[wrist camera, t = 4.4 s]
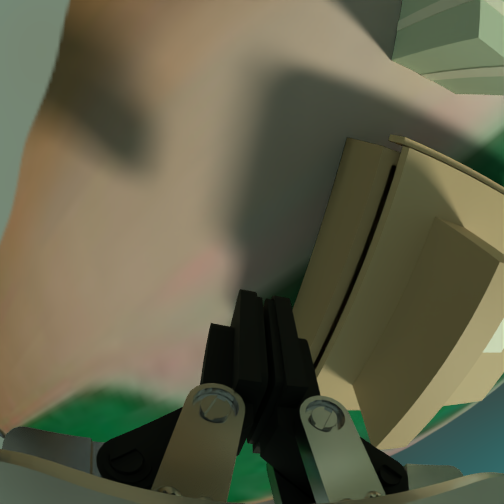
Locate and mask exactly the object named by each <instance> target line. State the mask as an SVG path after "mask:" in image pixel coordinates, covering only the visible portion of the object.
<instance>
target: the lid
mask: <svg viewBox="0 0 504 504" xmlns="http://www.w3.org/2000/svg"><path fill="white" fill-rule="evenodd" d="M389 141H391V142H394V143H396V144H399V145H401V146H403V147H402V151H401V154H400V157H399V161H398V164H397V168H396V171H395V174H394V177H393V181H392V184H391V187H390V190H389V193H388V196H387V199H386V202H385V205H384V208H383V211H382V214H381V217H380V220H379V223H378V225H377V228H376V231H375V234H374V236H373V239H372V242H371V245H370V247H369V250H368V252H367V255H366V258H365V260H364V263H363V265H362V268H361V270H360V273H359V275H358V278H357V280H356V283H355V285H354V287H353V290H352V292H351V294H350V297H349V299H348V301H347V304H346V306H345V308H344V311H343V313H342V315H341V317H340V320H339V322H338V324H337V326H336V328H335V330H334V333H333V335H332V337H331V339H330V341H329V343H328V345H327V347H326V349H325V352H324V354H323V356H322V358H321V360H320V362H319V364H318V366H317V368H316V370H315V373H316V378H317V382H318V386H319V390H320V395H321V396H327V397H330V398H333V399H335V400H336V401H338V402H340V403H341V404H342V405H343V406H344V407H345V408H346V410H361V413H362V416H363V419H364V422H365V426H366V429H367V432H368V435H369V438H370V442H371V445H373V446H374V447H376V448H377V449H379V450H382V449H391V448H400V447H406V446H407V445H408V444H409V443H410V442H411V441H412V440H413V439H414V438H415V436H416V435H417V434H418V433H419V432H420V431H421V430H422V429H423V428H424V427H425V426H426V425H427V424H428V422H429V421H430V420H431V419H432V418H433V417H434V416H435V414H436V413H437V412H438V411H439V410H440V409H441V407H442V406H446V405H454V404H462V403H470V402H476V401H482V400H483V398H484V397H485V396H486V395H487V393H488V392H489V391H490V390H491V388H492V387H493V386H494V384H495V383H496V382H497V380H498V379H499V378H500V376H501V375H502V374H503V372H504V187H502V186H501V185H499V184H497V183H496V182H494V181H492V180H490V179H489V178H487V177H485V176H483V175H482V174H480V173H478V172H476V171H474V170H473V169H471V168H469V167H467V166H465V165H463V164H461V163H459V162H457V161H455V160H454V159H452V158H450V157H448V156H446V155H443V154H441V153H439V152H437V151H435V150H433V149H431V148H429V147H427V146H424V145H422V144H420V143H418V142H415V141H413V140H411V139H409V138H406V137H402V136H397V135H391V134H390V136H389Z"/></svg>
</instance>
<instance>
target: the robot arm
mask: <svg viewBox="0 0 504 504" xmlns="http://www.w3.org/2000/svg"><path fill="white" fill-rule="evenodd" d="M246 438H247V443H250V444H253V453H260V456H261V457H262V458H263V459H264V460H265V461H266V462H267V464H266V466H267V473H268V478H269V482H270V486H271V490H272V494H273V498H274V503H275V504H504V474H503V473H494V472H493V473H492V472H489V473H477V474H471V475H467V476H463V474H462V473H461V472H460V470H459V469H457V468H455V467H454V466H448V465H447V466H446V465H417V464H406V465H405V466H402V465H401V464H400V463H399V462H397V461H396V460H394V459H393V458H391V457H390V456H388V455H387V454H385V453H384V452H382V451H380V450H379V449H377V448H376V447H374V446H373V445H371V444H370V443H368V442H367V441H365V440H364V439H363V438H361V437H360V436H359V434H358V432H357V430H356V428H355V426H354V423H353V421H352V419H351V417H350V415H349V413H348V411H347V410H346V408H345V407H344V406H343V405H342V404H341V403H340V402H338V401H336V400H335V399H333V398H330V397H327V396H321V395H320V390H319V386H318V382H317V378H316V373H315V369H314V365H313V361H312V357H311V353H310V348H309V344H308V342H307V340H306V339H303V338H298V334H297V329H296V325H295V320H294V315H293V311H292V306H291V302H290V299H289V298H284V297H279V296H272V298H271V299H266V300H265V303H264V306H263V303H262V298H261V297H257V293H256V292H252V291H247V290H242V289H240V291H239V294H238V298H237V302H236V306H235V310H234V314H233V318H232V322H231V326H230V327H229V326H223V325H218V324H213V323H211V325H210V329H209V334H208V339H207V344H206V350H205V356H204V362H203V368H202V375H201V382H200V385H199V386H196V387H195V388H194V389H192V390H191V391H190V393H189V394H188V396H187V398H186V400H185V403H184V406H183V407H182V408H179V409H177V410H175V411H173V412H171V413H169V414H167V415H165V416H163V417H161V418H159V419H156V420H154V421H152V422H150V423H148V424H145V425H143V426H141V427H139V428H136V429H134V430H132V431H129V432H127V433H125V434H122V435H120V436H118V437H115V438H113V439H110V440H109V441H107V442H105V443H101V442H93V441H92V439H91V438H85V437H78V436H71V435H65V434H59V433H54V432H48V431H43V430H39V429H34V428H29V427H17V428H14V429H12V430H10V431H9V432H8V433H7V434H6V436H5V439H4V441H3V446H2V449H0V504H243V503H230V502H227V497H228V493H229V488H230V483H231V479H232V474H233V469H234V464H235V459H236V456H237V455H239V453H240V451H241V449H242V447H243V445H244V443H245V440H246Z"/></svg>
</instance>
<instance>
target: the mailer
mask: <svg viewBox="0 0 504 504" xmlns="http://www.w3.org/2000/svg"><path fill="white" fill-rule="evenodd" d="M400 154H401V153H399V152H397V151H394V150H392V149H389V148H386V147H384V146H380V145H376V144H372V143H368V142H364V141H360V140H356V139H351V138H347V140H346V143H345V147H344V150H343V154H342V158H341V161H340V165H339V168H338V172H337V175H336V178H335V182H334V185H333V189H332V192H331V195H330V198H329V202H328V205H327V208H326V212H325V215H324V218H323V221H322V224H321V227H320V231H319V234H318V237H317V240H316V243H315V246H314V249H313V252H312V255H311V258H310V261H309V264H308V267H307V270H306V273H305V276H304V279H303V282H302V284H301V287H300V290H299V293H298V296H297V299H296V302H295V304H294V307H293V310H292V311H293V315H294V320H295V325H296V329H297V334H298V338H303V339H306V340H307V342H308V344H309V348H310V353H311V357H312V361H313V365H314V369H315V370H316V368H317V366H318V364H319V362H320V360H321V358H322V356H323V354H324V352H325V349H326V347H327V345H328V343H329V341H330V339H331V337H332V335H333V333H334V330H335V328H336V326H337V324H338V322H339V320H340V317H341V315H342V313H343V311H344V308H345V306H346V304H347V301H348V299H349V297H350V294H351V292H352V290H353V287H354V285H355V283H356V280H357V278H358V275H359V273H360V270H361V268H362V265H363V263H364V260H365V258H366V255H367V252H368V250H369V247H370V245H371V242H372V239H373V236H374V234H375V231H376V228H377V225H378V223H379V220H380V217H381V214H382V211H383V208H384V205H385V202H386V199H387V196H388V193H389V190H390V187H391V184H392V181H393V177H394V174H395V171H396V168H397V164H398V161H399V157H400Z"/></svg>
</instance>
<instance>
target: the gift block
mask: <svg viewBox="0 0 504 504" xmlns="http://www.w3.org/2000/svg"><path fill="white" fill-rule="evenodd" d="M392 61H394V62H396V63H398V64H400V65H402V66H404V67H407V68H409V69H411V70H413V71H415V72H417V73H419V74H421V76H423V77H425V78H427V79H429V80H431V81H434V82H436V83H437V84H439V85H441V86H443V87H445V88H446V89H448V90H450V91H451V92H453V93H455V94H484V95H504V0H402V6H401V12H400V18H399V21H398V25H397V35H396V40H395V45H394V50H393V55H392Z"/></svg>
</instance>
